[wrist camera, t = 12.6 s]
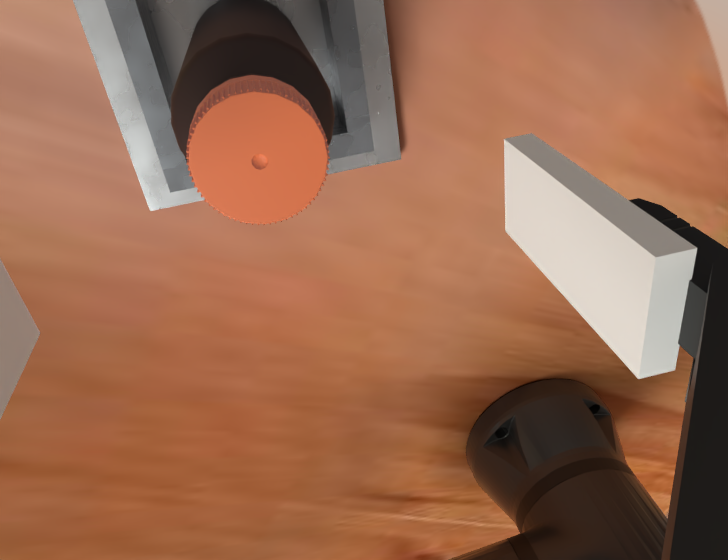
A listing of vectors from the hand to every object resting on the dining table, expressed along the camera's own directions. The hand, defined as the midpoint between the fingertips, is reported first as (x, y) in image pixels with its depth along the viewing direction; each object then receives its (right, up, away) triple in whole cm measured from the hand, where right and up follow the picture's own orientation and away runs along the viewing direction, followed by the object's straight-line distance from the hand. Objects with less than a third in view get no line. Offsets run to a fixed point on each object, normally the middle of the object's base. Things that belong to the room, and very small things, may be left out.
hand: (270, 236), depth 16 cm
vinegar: (-5, +13, +22) cm, 26 cm away
